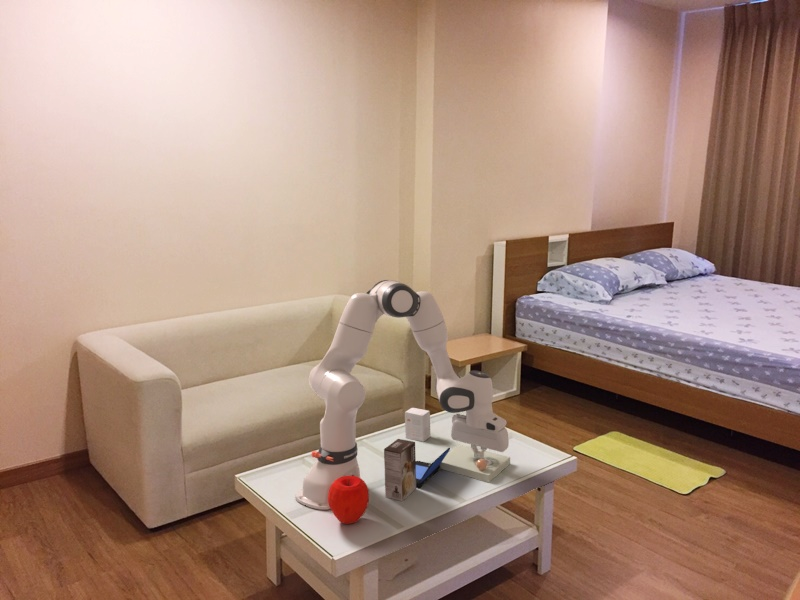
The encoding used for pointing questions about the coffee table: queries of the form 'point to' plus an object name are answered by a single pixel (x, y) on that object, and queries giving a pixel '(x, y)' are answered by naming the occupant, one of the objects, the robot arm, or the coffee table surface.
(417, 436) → the small box
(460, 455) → the beige flat block
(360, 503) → the apple
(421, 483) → the handheld game console
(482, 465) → the terracotta ball
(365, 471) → the coffee table surface
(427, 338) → the robot arm
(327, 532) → the coffee table surface
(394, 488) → the coffee box
